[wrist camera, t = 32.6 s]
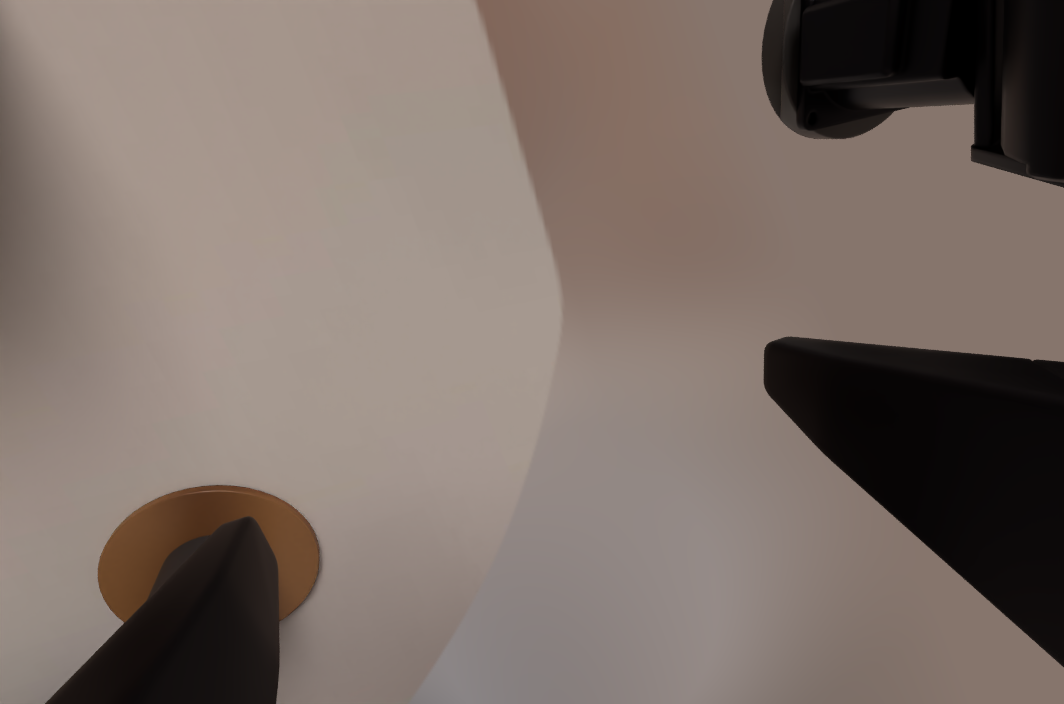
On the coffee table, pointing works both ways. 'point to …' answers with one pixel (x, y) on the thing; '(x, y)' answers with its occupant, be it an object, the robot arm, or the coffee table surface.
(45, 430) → the coffee table surface
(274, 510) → the coaster
